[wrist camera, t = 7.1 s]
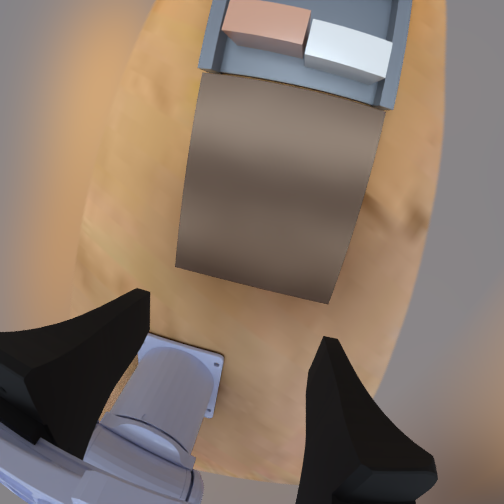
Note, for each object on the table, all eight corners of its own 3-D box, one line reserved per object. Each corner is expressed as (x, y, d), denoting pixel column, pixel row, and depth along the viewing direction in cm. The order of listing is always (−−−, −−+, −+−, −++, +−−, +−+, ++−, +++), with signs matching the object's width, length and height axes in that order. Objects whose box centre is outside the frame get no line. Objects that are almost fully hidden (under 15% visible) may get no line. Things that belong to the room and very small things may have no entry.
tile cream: (385, 78, 13) (392, 42, 12) (304, 53, 13) (313, 18, 12) (369, 85, 16) (375, 56, 16) (304, 66, 17) (311, 37, 16)
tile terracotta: (302, 44, 13) (311, 10, 12) (221, 29, 13) (231, -4, 12) (302, 59, 16) (310, 30, 16) (237, 45, 17) (245, 17, 16)
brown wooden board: (326, 281, 23) (328, 304, 20) (190, 248, 23) (175, 266, 21) (374, 112, 18) (385, 111, 15) (216, 78, 18) (202, 72, 15)
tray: (382, 110, 17) (400, 109, 14) (210, 72, 18) (188, 64, 14) (403, -3, 14) (421, -24, 10) (235, -37, 14) (221, -64, 11)
